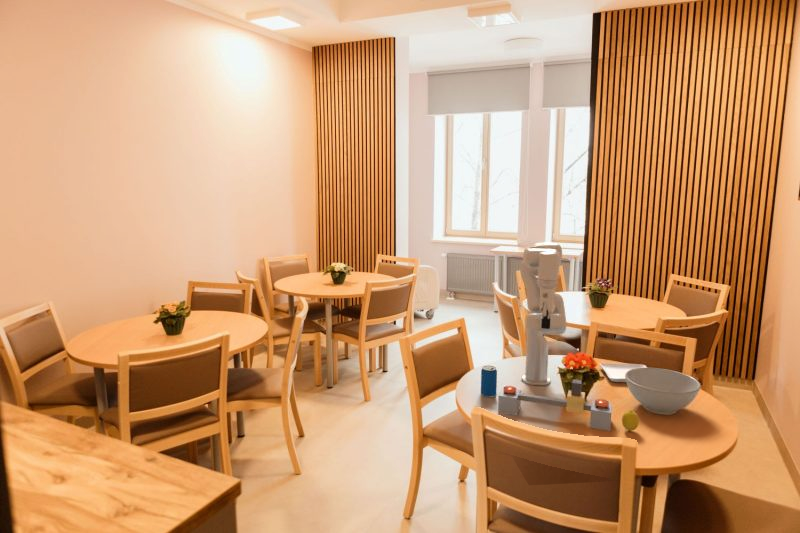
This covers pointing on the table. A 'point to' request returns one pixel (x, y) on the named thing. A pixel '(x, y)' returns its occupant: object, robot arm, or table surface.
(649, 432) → the table surface
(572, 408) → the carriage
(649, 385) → the decorative bowl
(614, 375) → the salad plate
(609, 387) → the table surface
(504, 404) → the slide rail
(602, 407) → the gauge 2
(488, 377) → the beverage can
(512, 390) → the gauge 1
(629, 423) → the lemon
